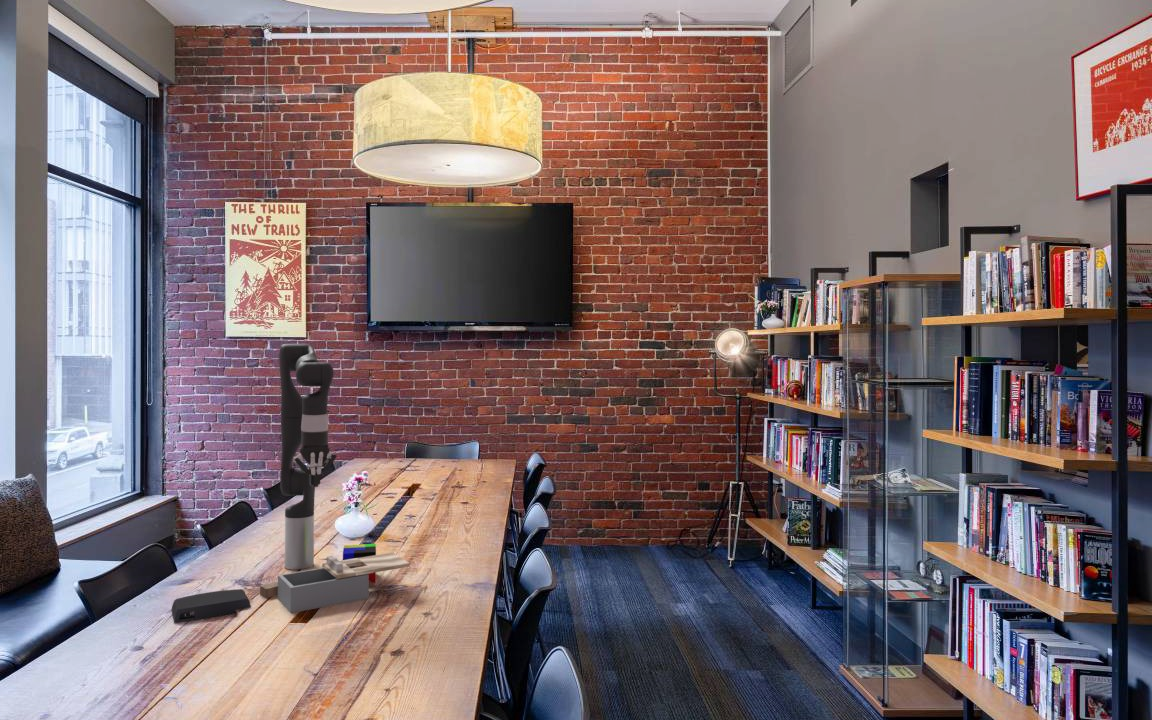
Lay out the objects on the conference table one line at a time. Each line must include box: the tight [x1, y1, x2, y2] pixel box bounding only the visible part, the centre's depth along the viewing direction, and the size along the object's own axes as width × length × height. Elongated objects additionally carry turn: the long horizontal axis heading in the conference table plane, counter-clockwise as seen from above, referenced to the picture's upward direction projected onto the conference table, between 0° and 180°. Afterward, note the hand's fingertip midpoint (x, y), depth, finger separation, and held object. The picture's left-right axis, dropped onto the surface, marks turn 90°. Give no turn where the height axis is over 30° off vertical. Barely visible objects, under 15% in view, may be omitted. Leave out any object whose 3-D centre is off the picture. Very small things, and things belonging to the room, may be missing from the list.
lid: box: [321, 552, 411, 579], centre depth 225 cm, size 14×22×3 cm, turn 125°
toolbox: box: [277, 566, 370, 614], centre depth 218 cm, size 14×22×8 cm, turn 125°
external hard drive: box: [171, 588, 252, 624], centre depth 210 cm, size 13×19×4 cm
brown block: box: [259, 581, 278, 599], centre depth 224 cm, size 4×4×15 cm
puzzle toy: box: [342, 543, 377, 584], centre depth 239 cm, size 10×10×10 cm
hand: (314, 486), depth 223 cm, fingers closed
